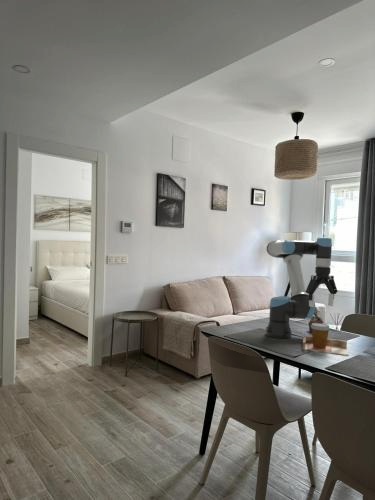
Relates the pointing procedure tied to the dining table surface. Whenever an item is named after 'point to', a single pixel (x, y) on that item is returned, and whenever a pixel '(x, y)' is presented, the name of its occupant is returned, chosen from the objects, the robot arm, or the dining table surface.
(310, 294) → the robot arm
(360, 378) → the dining table surface
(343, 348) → the brown beige flat box
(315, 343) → the cup of beer
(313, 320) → the cupcake
